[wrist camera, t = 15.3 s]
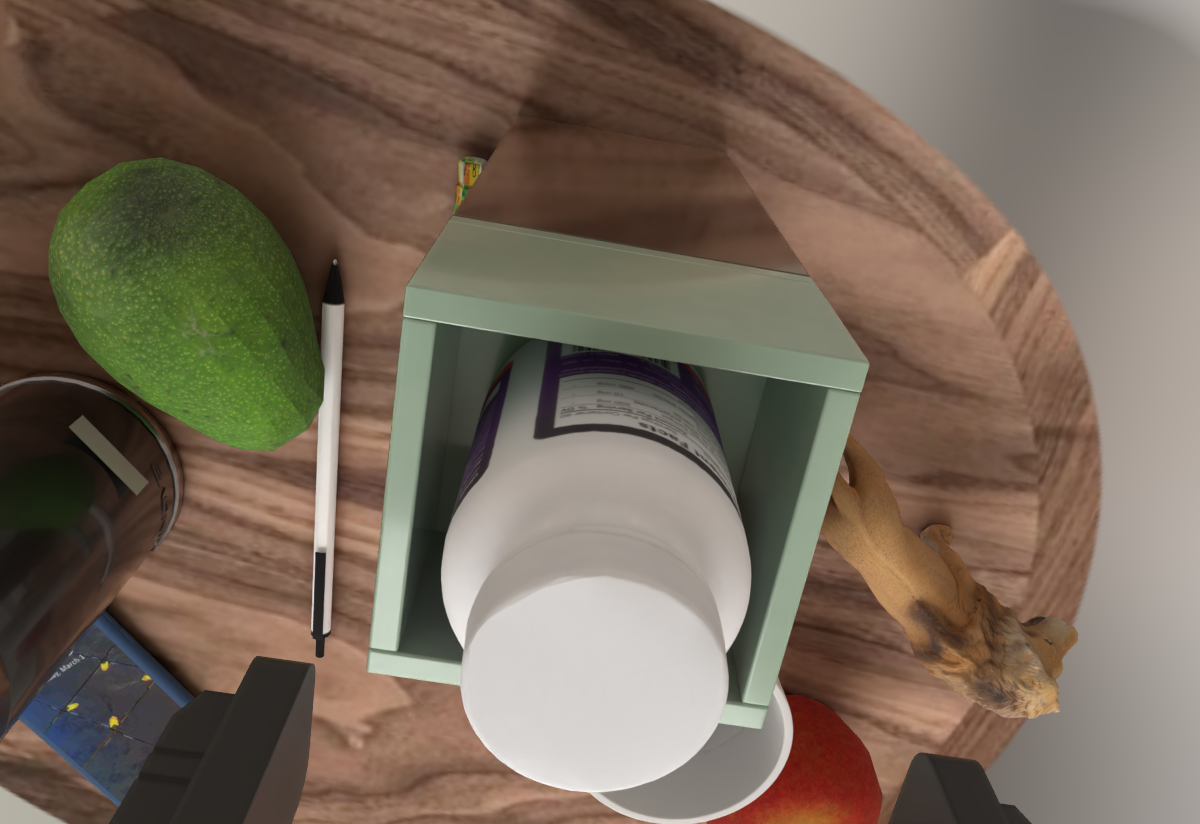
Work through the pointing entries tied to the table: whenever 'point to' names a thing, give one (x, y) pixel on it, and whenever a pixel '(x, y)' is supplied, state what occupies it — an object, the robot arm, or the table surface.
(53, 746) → the smartphone
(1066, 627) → the lion figurine
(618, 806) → the cup
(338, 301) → the pen
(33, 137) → the table surface
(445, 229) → the green open-top box
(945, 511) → the table surface
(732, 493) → the pill bottle
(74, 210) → the fruit
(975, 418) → the table surface
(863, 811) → the apple
